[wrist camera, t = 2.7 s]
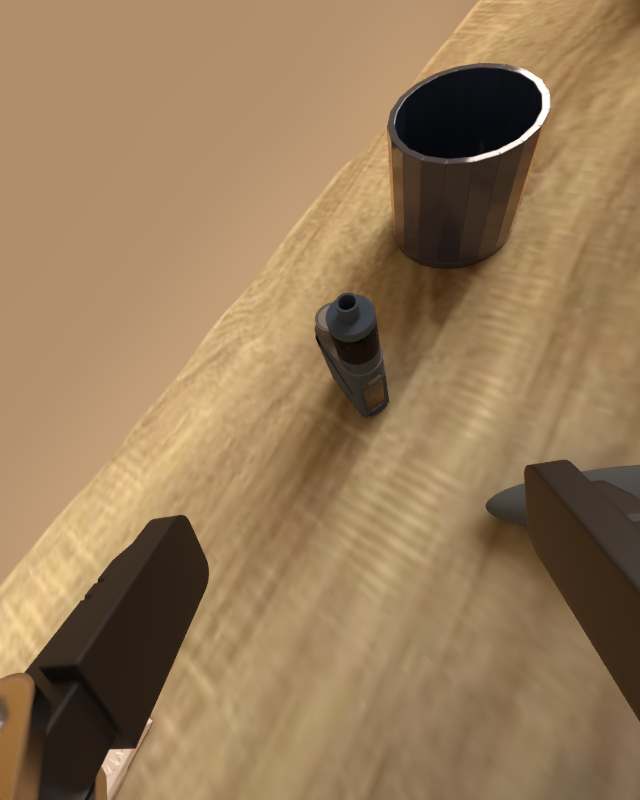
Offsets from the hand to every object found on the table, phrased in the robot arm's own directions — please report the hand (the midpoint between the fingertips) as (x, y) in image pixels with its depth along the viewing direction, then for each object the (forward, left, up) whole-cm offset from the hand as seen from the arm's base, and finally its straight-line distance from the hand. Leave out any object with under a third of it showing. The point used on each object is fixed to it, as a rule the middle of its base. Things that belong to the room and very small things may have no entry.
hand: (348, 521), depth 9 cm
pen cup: (-10, -25, -16) cm, 31 cm away
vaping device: (0, -11, -16) cm, 20 cm away
